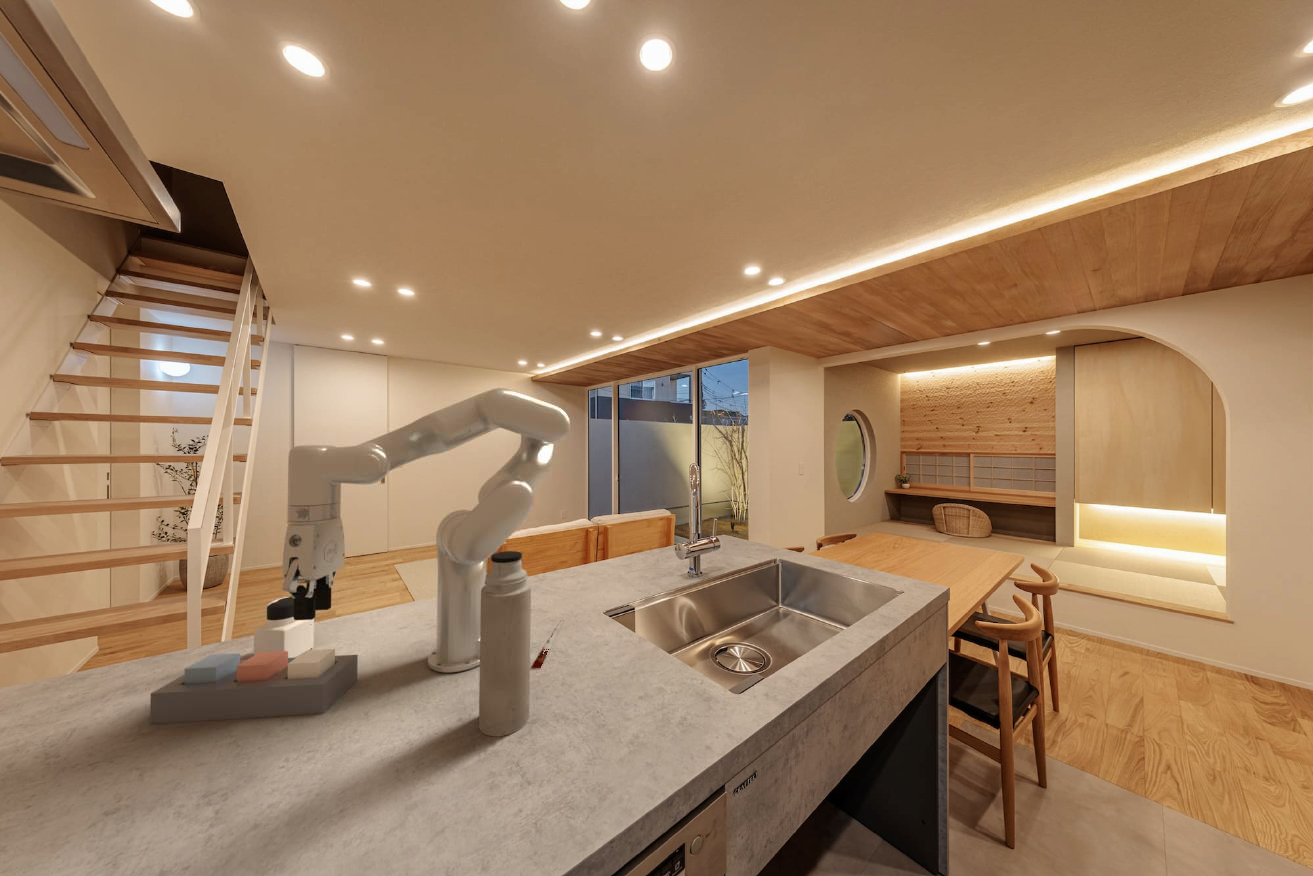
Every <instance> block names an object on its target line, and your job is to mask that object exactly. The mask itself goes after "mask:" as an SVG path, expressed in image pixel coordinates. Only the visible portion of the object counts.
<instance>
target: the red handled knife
mask: <svg viewBox="0 0 1313 876" xmlns="http://www.w3.org/2000/svg"><path fill="white" fill-rule="evenodd" d="M544 650H545V649H544ZM546 650H547V649H546ZM548 650H549V649H548ZM543 652H544V651H543V648H542V649H541V651H540V653H539V654H538V655H537V657H536V658H535V660H534V662H533V663H532V665H530V669H531V668H541V669H542V667H543V665H544V663H545V661H546V659H547V657H546V655H547V652H548V651H545V652H544V654H543ZM547 656H548V655H547ZM545 658H546V659H545ZM544 660H545V661H544ZM543 662H544V663H543ZM542 664H543V665H542ZM541 666H542V667H541Z"/></svg>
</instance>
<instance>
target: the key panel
mask: <svg viewBox="0 0 1313 876" xmlns="http://www.w3.org/2000/svg"><path fill="white" fill-rule="evenodd" d="M358 657H359V655H358V654H343V655H335V664H334V665H333V666H332V667H331V668H330V669H328V670H327V671H326V672H325V673H323V674H322V675H321V676H320V677H319V678H302V679H288V666H287V667H286V668H285V669H283V670H282V671H280V672H279V673H278V674H276V675H275V676H273V677H272V678H271V679H269V680H264V681H245V682H237V670H236V671H235V672H233V673H232V674H230V675H228V676H227V677H225V678H224V679H222V680H220V681H219V682H217V683H207V684H187V685H184V676H185V674H183V675H181V676H180V677H177V678H176V679H173V681H171V682H169V683H166V684H165V685H163V686H161V687H160V688H157V689H156V690H155V691H152V692H150V713H149V714H150V715H149V724H150V725H157V724H172V723H173V724H175V723H189V722H204V721H205V722H207V721H208V722H209V721H221V720H222V721H223V720H237V719H238V720H239V719H254V718H255V719H256V718H269V717H270V718H271V717H272V718H273V717H288V716H302V715H303V716H304V715H318V714H319V715H321V714H324V713H325V712H326V711H327V710H329V709H330V708H331V707H332V706H333V705H334V704H335V703H336V702H337V701H338V700H339V699H340V698H341V697H342V696H343V695H344V694H345V693H346V692H347V691H348V690H349V689H350V688H351V687H352V686H353V685H355V683H356V682H357V681H358V662H359V661H358ZM294 659H295V658H288V663H290V662H291V661H292V660H294ZM246 660H247V659H240V664H241V663H243V662H245V661H246Z"/></svg>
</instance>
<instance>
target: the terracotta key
mask: <svg viewBox="0 0 1313 876" xmlns="http://www.w3.org/2000/svg"><path fill="white" fill-rule="evenodd" d="M245 660H246V661H245V662H243V663H241V664H240V665H238V666H237V682H245V681H264V680H269V679H271V678H272V677H273V676H275V675H276V674H278V673H279V672H280V671H282V670H283V669H285V668H286V667H287V666H288V651H279V652H259V653H258V654H256V655H254V654H253V656H251V657H249V658H248V659H245Z"/></svg>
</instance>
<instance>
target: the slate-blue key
mask: <svg viewBox="0 0 1313 876" xmlns="http://www.w3.org/2000/svg"><path fill="white" fill-rule="evenodd" d="M240 660H241V653H240V652H238V653H217V654H213V653H212V654H209V655H207V656H205V657H203V658H202V659H200V660H198V661H196V662H194V663H193V664H191V665H188V666H186V667H184V675H185V676H184V685H187V684H207V683H217V682H219V681H220V680H222V679H224V678H225V677H227V676H228V675H230V674H232V673H233V672H235V671H236V670H237V666H238V665H240Z"/></svg>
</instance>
